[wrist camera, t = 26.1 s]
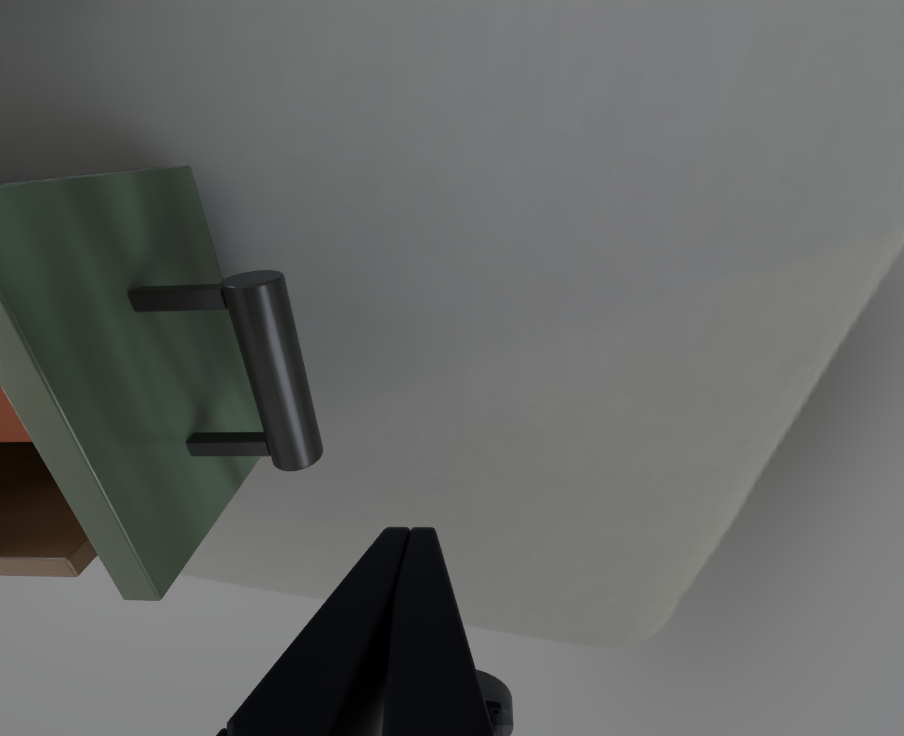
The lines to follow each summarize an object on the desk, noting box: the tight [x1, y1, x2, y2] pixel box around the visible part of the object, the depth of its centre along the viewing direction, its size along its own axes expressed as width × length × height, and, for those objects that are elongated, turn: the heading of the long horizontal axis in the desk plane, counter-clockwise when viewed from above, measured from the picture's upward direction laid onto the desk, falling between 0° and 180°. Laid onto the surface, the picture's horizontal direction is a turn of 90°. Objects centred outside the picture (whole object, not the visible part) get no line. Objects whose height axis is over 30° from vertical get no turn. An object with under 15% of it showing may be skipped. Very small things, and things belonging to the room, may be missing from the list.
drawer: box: [0, 165, 323, 601], centre depth 15 cm, size 17×11×8 cm
